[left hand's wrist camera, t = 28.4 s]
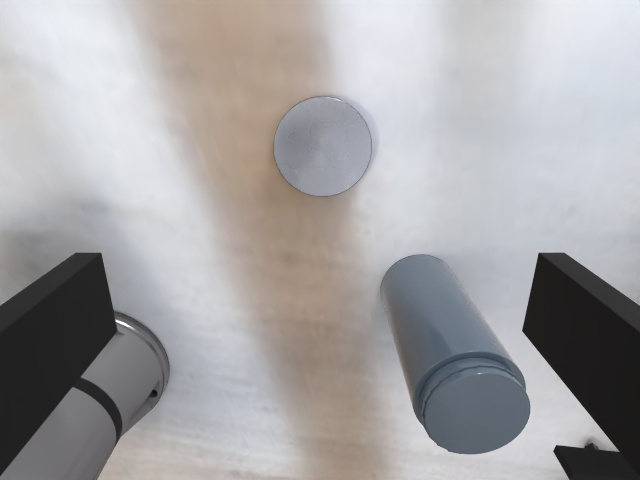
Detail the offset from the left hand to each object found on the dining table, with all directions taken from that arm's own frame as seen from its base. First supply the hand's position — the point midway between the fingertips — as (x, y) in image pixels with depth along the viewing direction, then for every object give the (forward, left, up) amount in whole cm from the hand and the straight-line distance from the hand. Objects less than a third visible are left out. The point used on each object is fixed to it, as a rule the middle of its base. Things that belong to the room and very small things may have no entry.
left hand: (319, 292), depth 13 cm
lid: (0, 0, -28) cm, 28 cm away
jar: (+3, -19, -29) cm, 35 cm away
